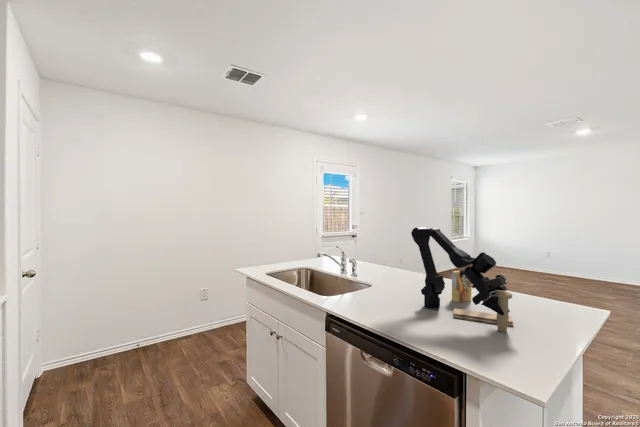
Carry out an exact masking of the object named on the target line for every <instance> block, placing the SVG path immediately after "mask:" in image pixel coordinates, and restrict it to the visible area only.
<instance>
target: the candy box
mask: <svg viewBox="0 0 640 427" xmlns="http://www.w3.org/2000/svg"><path fill="white" fill-rule="evenodd" d="M459 275H460V270H452V271H451V301H453V302H455V303H463V302H465V303H466V302H472V287H471V286H472V284H471V282H470V281H469V280H468V279H467V278H466V276H462V277H460V276H459Z"/></svg>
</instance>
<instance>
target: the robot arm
mask: <svg viewBox="0 0 640 427" xmlns="http://www.w3.org/2000/svg"><path fill="white" fill-rule="evenodd" d="M410 233H411V237H412V239H413V241H414V243H415V244H416V245H417V247H418V248H419V249H418V250H419V253H420V257H421V261H422V263H423V268H424V270H425V279H424V283H425V285H424V287H423V288H421V289H420V293H421V295H423V296H424V298H423V299H424V301H423V302H424V305H423V308H424V309H429V310H439V309H440V307H441V297H440V295H442V293H443V291H444V290H445V288H446V283H445V279H444V276H443V275H439V273H438V272H437V269H436V268H437V267H436V266H435V261H434V257H433V255H432V251H431V247H430V240H431V238H432V240H434V241H435V242H436V243H437V245H439V247H441V248H442V249H443V250H444V252H445V253H446V254H447V255H448V257H449V261H450V262H451V263H452V265H453V266H454V267H456V268H457V269H460V270H459V271H460V275H459V276H460V277H462V276H466V278H467V279H468V280H469V281H470V282H471V284H472V286H471V289H476V291H477V292H478V293H476V294H475V295H474V296H473V297H471V302H473V304H474V305H475V306H477V305H479V304H480V305H481V306H484V307H485V308H488V309H490V310H492V311H493V312H495V313H496V314H497V313H498V314H500V315H502V316H503V315H504V312H503V311H502V309H501V308H500V306H499V305H498V297H497V296H496V294H495V290H502V291H506V292H507V290H508V288H507V287H506V286H505V285H507V281H506V280H507V278H506V277H505V276H504V275H502V274H496V275H495V276H494V278H491V279H490V277H488V276H486V277H485V276H484V275H483V274H486V273H488V272H489V271H491V269H492V268H494V267H495V266H496V265H497V262H496V260H495V258H493V257H492V256H490V255H488V254H486V252H484V251H483V252H480V253H479V254H478V255H477V256H476V257H472V256H471V255H470V254H468V252H466V251H465V250H462V249H460V248H459V247H457V246H456V245H455V244H454V243H453V242H452V241H451V240H450V239H449V238H448V237H447V236H446V235H445V234H444V233H443V232H442V230H441V229H440V228H439V227H438V228H437V227H433V228H427V227H426V226H425V227H424V226H423V227H422V226H420V227H414V228H413V229H412V230H411V232H410ZM462 268H464V269H462ZM481 302H482V303H481ZM509 313H510V309H509V308H508V314H509Z"/></svg>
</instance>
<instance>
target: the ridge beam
mask: <svg viewBox="0 0 640 427" xmlns="http://www.w3.org/2000/svg"><path fill="white" fill-rule="evenodd" d="M452 317H453V319H457V320H462V321H463V320H465V321H470V322H477V323H483V324H490V325H491V324H492V325H496V326H497V313H489V312H482V311H474V310H469V309H462V308H461V309H459V308H453V316H452ZM507 327H510V328H514V322H513V318H512V316H511V315H509V319H508V326H507Z"/></svg>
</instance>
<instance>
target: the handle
mask: <svg viewBox="0 0 640 427" xmlns="http://www.w3.org/2000/svg"><path fill="white" fill-rule="evenodd" d="M495 294H496V296H497V297H498V305H499V306H500V308H501V309H502V311H503V312H504V315H503V316H502V315H500V314H498V313H497V312H496V314H497V325H496V326H497V331H499V332H502V333H507V331H508V327H509V326H508V319H509V316H510V315H509V313H508V309H509V300H510V299H513V293H511V292H508V291H507V290H506V291H502V290H495Z"/></svg>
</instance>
